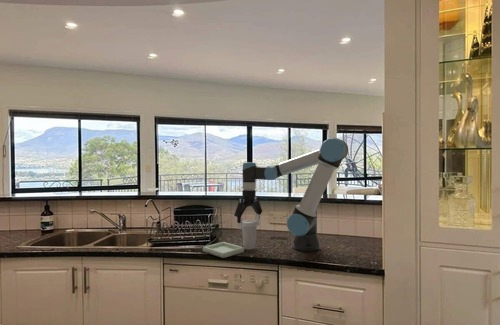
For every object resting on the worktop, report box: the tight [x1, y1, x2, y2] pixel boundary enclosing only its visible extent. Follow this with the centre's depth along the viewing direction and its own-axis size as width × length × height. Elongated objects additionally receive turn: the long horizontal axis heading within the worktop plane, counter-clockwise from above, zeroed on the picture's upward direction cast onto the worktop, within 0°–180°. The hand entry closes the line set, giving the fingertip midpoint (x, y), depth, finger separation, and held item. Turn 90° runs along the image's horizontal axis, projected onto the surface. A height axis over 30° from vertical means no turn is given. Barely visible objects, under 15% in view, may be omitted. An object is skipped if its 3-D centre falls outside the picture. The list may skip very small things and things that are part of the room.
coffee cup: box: [241, 219, 258, 251], centre depth 184 cm, size 10×10×15 cm
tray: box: [202, 241, 245, 259], centre depth 176 cm, size 17×15×2 cm
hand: (248, 227), depth 184 cm, fingers open, 13 cm apart
